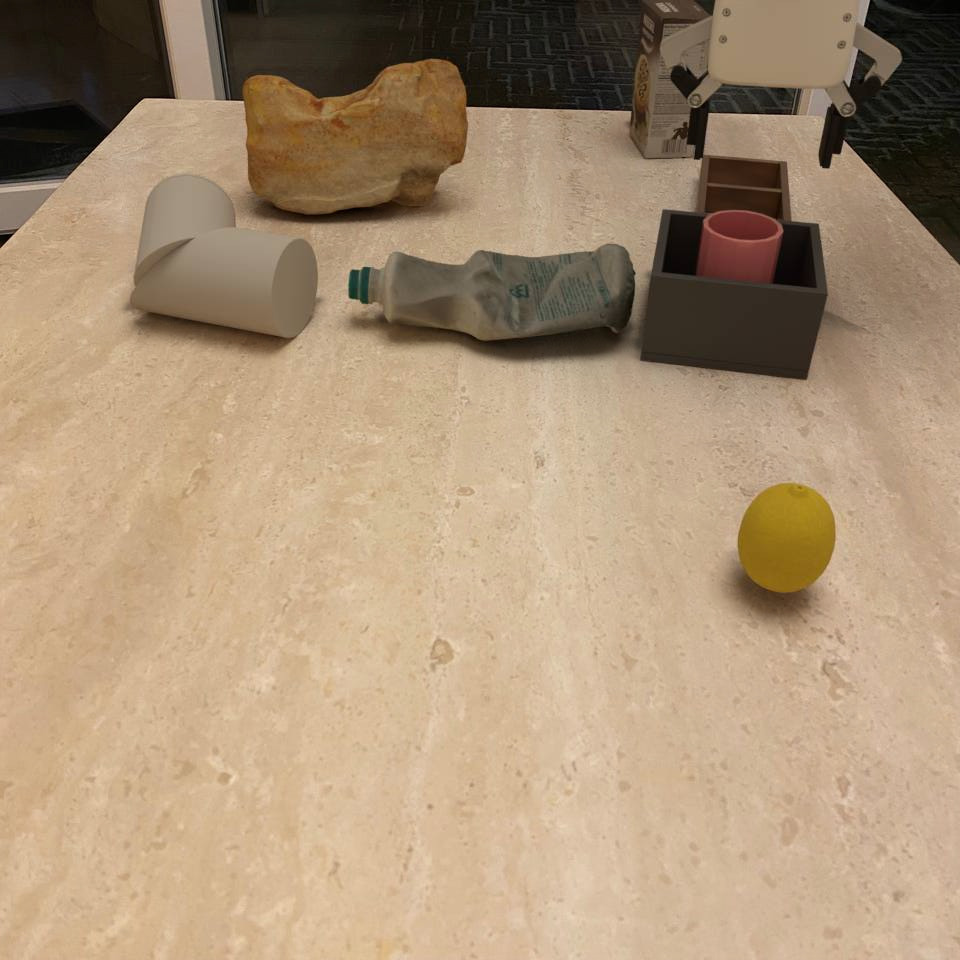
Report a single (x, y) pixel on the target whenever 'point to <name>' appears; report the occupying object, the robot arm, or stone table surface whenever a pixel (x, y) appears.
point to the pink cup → (739, 246)
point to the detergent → (504, 292)
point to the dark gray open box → (734, 304)
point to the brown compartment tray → (744, 186)
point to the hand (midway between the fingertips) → (760, 158)
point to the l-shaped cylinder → (219, 263)
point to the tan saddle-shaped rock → (355, 139)
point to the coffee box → (664, 80)
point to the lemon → (786, 537)
